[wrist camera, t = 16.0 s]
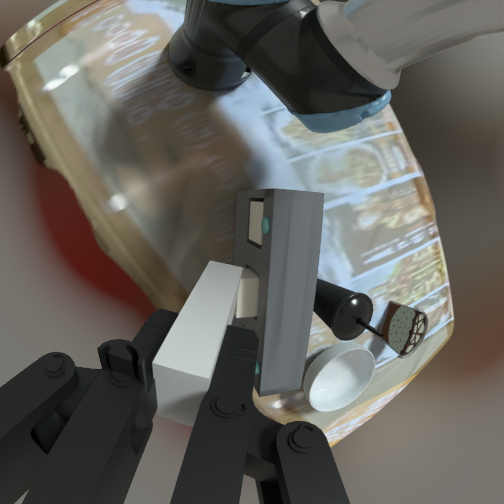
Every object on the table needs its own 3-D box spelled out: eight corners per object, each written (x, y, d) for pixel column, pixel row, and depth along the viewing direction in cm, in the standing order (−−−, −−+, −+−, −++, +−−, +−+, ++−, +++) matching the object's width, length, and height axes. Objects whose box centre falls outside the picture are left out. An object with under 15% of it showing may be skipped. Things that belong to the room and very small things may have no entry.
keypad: (228, 341, 47) (256, 397, 32) (234, 191, 43) (270, 188, 28) (262, 338, 49) (300, 388, 34) (272, 193, 44) (324, 193, 30)
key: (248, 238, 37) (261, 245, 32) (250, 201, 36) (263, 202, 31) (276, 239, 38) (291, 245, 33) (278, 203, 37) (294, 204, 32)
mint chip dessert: (392, 340, 61) (418, 357, 52) (376, 342, 60) (403, 360, 50) (406, 295, 60) (435, 308, 50) (391, 295, 58) (421, 309, 48)
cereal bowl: (290, 350, 52) (306, 368, 45) (357, 322, 56) (377, 335, 49) (297, 405, 56) (311, 423, 50) (356, 377, 60) (372, 392, 54)
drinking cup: (298, 315, 51) (362, 370, 32) (287, 281, 48) (355, 328, 30) (331, 297, 52) (402, 341, 33) (322, 263, 50) (399, 298, 31)
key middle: (227, 303, 38) (236, 317, 33) (228, 268, 37) (237, 278, 32) (255, 301, 39) (267, 315, 34) (257, 267, 38) (269, 277, 33)
